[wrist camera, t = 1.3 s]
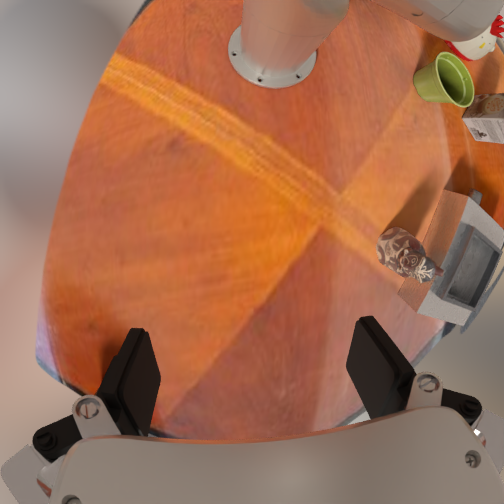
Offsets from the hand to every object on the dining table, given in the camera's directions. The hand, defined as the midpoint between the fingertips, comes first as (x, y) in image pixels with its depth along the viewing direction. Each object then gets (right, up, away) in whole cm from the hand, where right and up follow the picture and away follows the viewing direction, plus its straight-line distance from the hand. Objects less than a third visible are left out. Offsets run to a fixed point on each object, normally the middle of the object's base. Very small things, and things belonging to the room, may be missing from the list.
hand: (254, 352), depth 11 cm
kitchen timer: (+43, +51, +17) cm, 68 cm away
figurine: (+24, +5, +32) cm, 40 cm away
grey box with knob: (+40, +5, +33) cm, 52 cm away
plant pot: (+30, +34, +22) cm, 50 cm away
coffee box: (+45, +32, +24) cm, 60 cm away
